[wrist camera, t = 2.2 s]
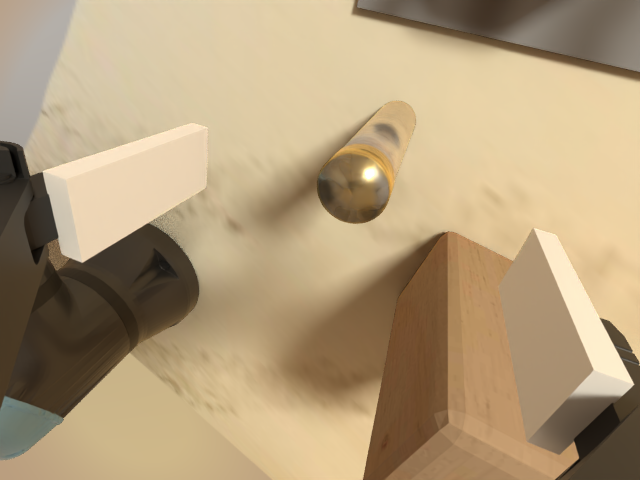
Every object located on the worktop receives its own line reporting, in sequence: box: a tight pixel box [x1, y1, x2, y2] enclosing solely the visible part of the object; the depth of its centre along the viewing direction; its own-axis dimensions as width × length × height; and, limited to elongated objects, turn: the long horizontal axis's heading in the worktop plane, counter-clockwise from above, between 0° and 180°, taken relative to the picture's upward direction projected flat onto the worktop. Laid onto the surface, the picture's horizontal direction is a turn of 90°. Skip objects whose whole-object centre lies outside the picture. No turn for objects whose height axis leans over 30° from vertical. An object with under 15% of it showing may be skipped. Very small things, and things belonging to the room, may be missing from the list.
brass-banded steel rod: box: [317, 101, 416, 224], centre depth 23 cm, size 3×3×16 cm
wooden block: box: [363, 231, 579, 480], centre depth 26 cm, size 10×10×20 cm
